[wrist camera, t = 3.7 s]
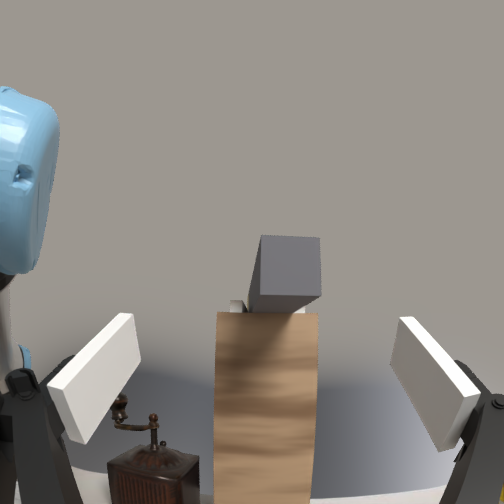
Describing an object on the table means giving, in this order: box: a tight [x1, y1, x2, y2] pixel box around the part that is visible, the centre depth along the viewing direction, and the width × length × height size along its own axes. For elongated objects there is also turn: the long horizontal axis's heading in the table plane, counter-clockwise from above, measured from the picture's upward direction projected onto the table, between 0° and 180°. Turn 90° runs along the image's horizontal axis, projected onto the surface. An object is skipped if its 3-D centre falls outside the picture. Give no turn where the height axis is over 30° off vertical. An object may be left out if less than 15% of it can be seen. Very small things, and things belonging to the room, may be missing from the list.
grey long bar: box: [247, 235, 321, 313], centre depth 34 cm, size 28×4×4 cm, turn 3°
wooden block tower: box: [214, 300, 318, 504], centre depth 31 cm, size 10×10×31 cm
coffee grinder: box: [107, 392, 200, 504], centre depth 35 cm, size 16×11×18 cm
